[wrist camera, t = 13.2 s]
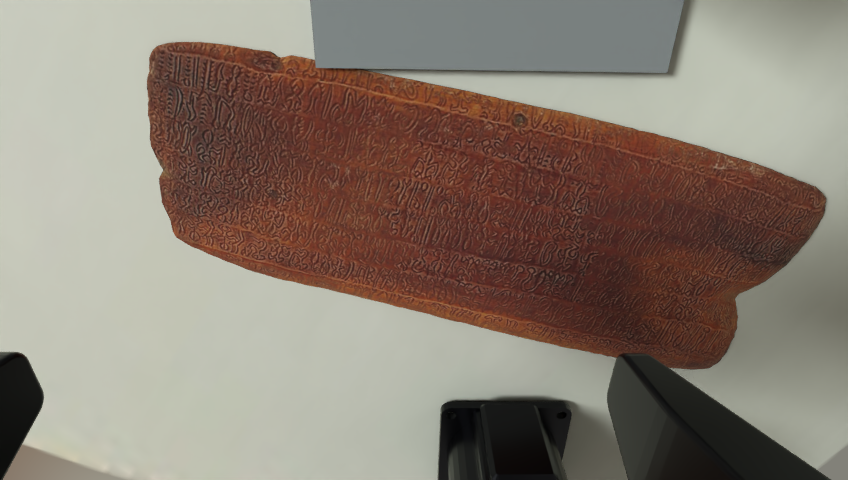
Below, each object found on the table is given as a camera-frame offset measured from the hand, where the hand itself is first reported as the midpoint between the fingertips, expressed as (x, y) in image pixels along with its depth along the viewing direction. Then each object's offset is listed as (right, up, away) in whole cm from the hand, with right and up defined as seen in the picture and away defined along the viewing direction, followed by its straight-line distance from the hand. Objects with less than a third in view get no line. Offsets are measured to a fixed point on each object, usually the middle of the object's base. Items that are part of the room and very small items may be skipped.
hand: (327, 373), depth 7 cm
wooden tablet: (+4, +3, +13) cm, 14 cm away
